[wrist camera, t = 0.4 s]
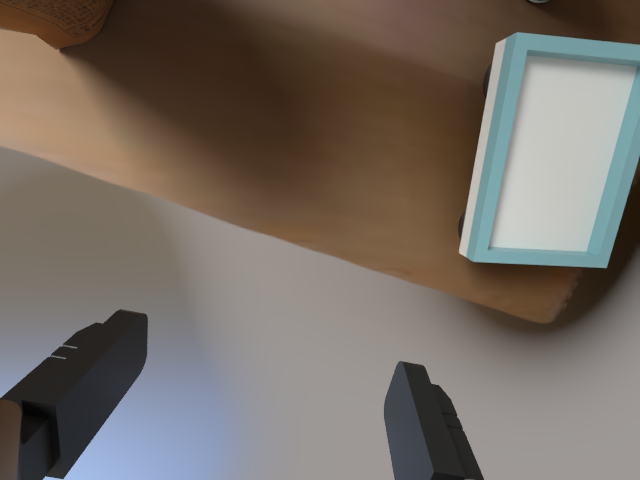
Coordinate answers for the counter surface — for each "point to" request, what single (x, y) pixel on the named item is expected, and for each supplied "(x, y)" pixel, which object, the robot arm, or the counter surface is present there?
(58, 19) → the pancake mix bag
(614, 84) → the shallow teal tray
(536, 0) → the supplement bottle
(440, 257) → the counter surface
